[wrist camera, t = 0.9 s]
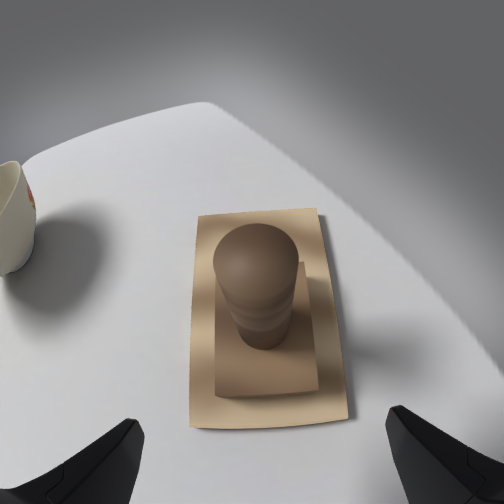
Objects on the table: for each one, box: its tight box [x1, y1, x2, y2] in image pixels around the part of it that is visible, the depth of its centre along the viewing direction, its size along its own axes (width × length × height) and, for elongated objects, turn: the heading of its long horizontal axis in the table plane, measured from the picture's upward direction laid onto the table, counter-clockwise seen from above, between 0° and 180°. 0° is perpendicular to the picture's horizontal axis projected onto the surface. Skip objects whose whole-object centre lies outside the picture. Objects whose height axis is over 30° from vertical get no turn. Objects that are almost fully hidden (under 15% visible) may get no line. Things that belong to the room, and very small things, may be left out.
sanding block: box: [213, 223, 319, 398], centre depth 17 cm, size 10×7×12 cm
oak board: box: [189, 208, 348, 429], centre depth 24 cm, size 20×12×1 cm, turn 2°
